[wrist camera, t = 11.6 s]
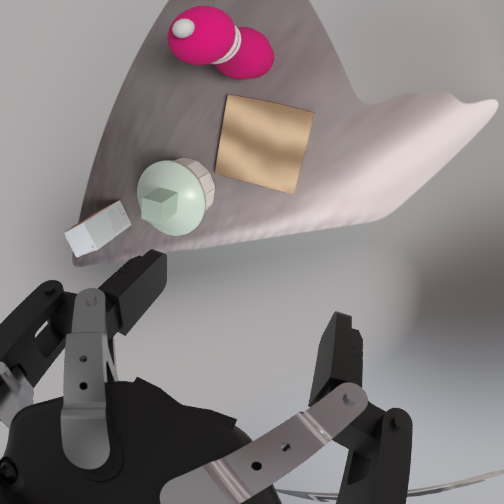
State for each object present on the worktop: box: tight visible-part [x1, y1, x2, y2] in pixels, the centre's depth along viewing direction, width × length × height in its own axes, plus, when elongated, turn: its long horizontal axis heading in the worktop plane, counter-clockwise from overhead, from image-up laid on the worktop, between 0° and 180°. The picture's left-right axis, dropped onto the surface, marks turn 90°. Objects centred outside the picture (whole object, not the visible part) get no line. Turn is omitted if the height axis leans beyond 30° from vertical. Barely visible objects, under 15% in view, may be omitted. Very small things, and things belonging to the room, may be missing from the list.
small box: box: [64, 200, 132, 257], centre depth 48 cm, size 8×6×10 cm
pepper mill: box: [168, 6, 274, 79], centre depth 24 cm, size 7×7×20 cm
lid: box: [137, 160, 206, 236], centre depth 39 cm, size 12×12×5 cm
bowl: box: [174, 157, 215, 212], centre depth 43 cm, size 10×10×5 cm
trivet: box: [215, 95, 315, 194], centre depth 38 cm, size 12×12×1 cm
